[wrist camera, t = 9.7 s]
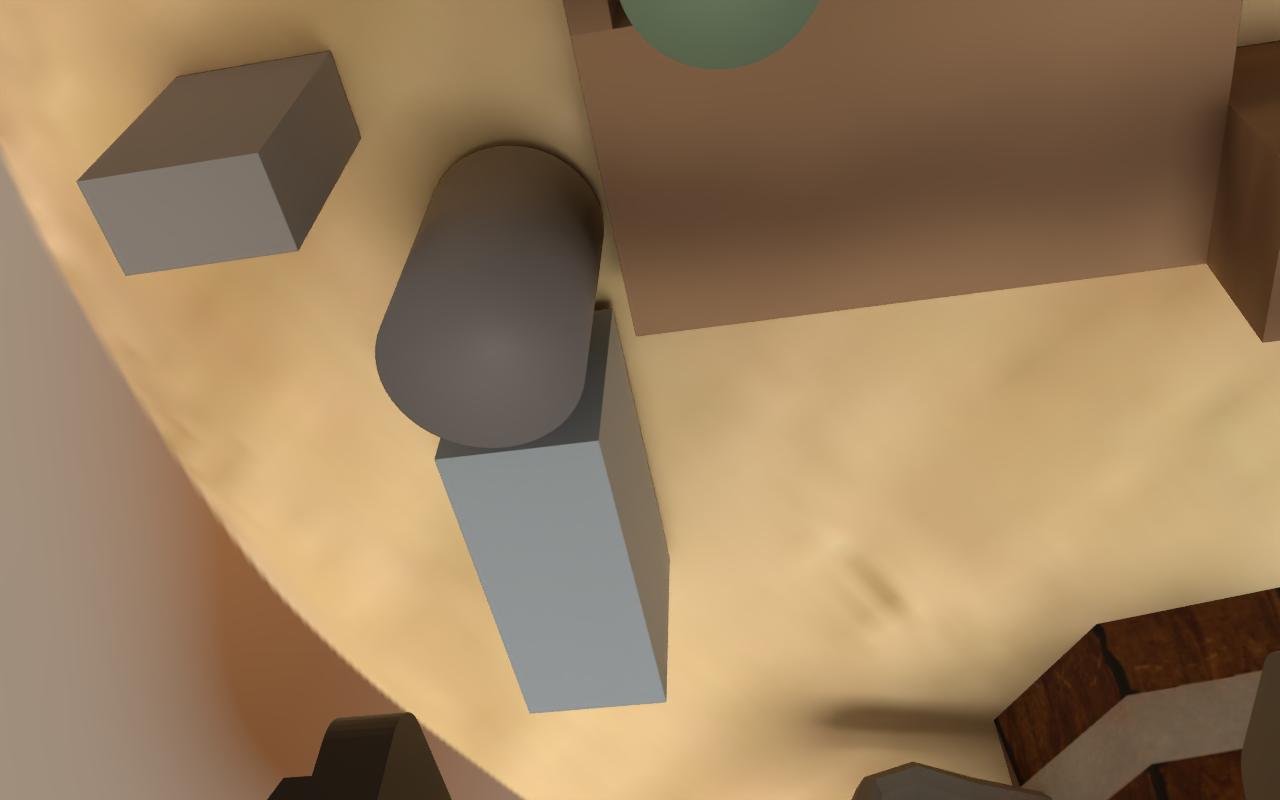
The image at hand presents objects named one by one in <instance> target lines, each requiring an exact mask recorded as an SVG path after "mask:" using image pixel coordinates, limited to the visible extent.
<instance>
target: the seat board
mask: <svg viewBox="0 0 1280 800" xmlns="http://www.w3.org/2000/svg"><path fill="white" fill-rule="evenodd" d="M563 4H564V8H565V13H566V17H567V22H568V26H569V31H570V36H571V40H572V45H573V49H574V54H575V59H576V63H577V68H578V72H579V77H580V82H581V86H582V91H583V95H584V100H585V105H586V109H587V114H588V118H589V123H590V128H591V132H592V137H593V141H594V146H595V150H596V155H597V160H598V164H599V169H600V173H601V178H602V183H603V187H604V192H605V196H606V201H607V206H608V210H609V215H610V219H611V224H612V229H613V233H614V238H615V242H616V247H617V251H618V256H619V261H620V265H621V270H622V274H623V279H624V284H625V288H626V293H627V297H628V302H629V307H630V311H631V316H632V320H633V325H634V330H635V334H636V336H644V335H651V334H659V333H667V332H675V331H683V330H691V329H698V328H706V327H714V326H722V325H730V324H737V323H745V322H753V321H761V320H769V319H776V318H784V317H792V316H800V315H808V314H815V313H823V312H831V311H839V310H847V309H854V308H862V307H870V306H878V305H886V304H893V303H901V302H909V301H917V300H925V299H932V298H940V297H948V296H956V295H964V294H971V293H979V292H987V291H995V290H1003V289H1010V288H1018V287H1026V286H1034V285H1042V284H1049V283H1057V282H1065V281H1073V280H1081V279H1088V278H1096V277H1104V276H1112V275H1120V274H1128V273H1135V272H1143V271H1151V270H1159V269H1167V268H1174V267H1182V266H1190V265H1198V264H1207V265H1208V266H1209V268H1210V269H1211V271H1212V272H1213V274H1214V275H1215V276H1216V278H1217V279H1218V281H1219V282H1220V283H1221V285H1222V286H1223V288H1224V289H1225V290H1226V292H1227V293H1228V295H1229V296H1230V298H1231V299H1232V300H1233V302H1234V303H1235V305H1236V306H1237V307H1238V309H1239V310H1240V312H1241V313H1242V314H1243V316H1244V317H1245V319H1246V320H1247V321H1248V323H1249V324H1250V326H1251V327H1252V329H1253V330H1254V331H1255V333H1256V334H1257V336H1258V337H1259V338H1260V340H1261V341H1262V343H1263V342H1272V341H1280V41H1277V42H1271V43H1264V44H1258V45H1251V46H1244V47H1238V48H1236V47H1237V40H1238V32H1239V25H1240V18H1241V11H1242V4H1243V0H819V3H818V5H817V7H816V9H815V11H814V12H813V14H812V16H811V17H810V19H809V20H808V22H807V23H806V25H805V26H804V27H803V28H802V30H801V31H800V32H799V33H798V34H797V35H796V36H795V37H794V38H793V39H792V40H791V41H790V42H789V43H788V44H786V45H785V46H784V47H783V48H781V49H780V50H778V51H777V52H775V53H774V54H772V55H770V56H768V57H766V58H765V59H763V60H761V61H758V62H755V63H753V64H750V65H746V66H742V67H738V68H732V69H722V70H719V69H703V68H697V67H693V66H689V65H686V64H682V63H680V62H678V61H675V60H673V59H671V58H669V57H667V56H666V55H664V54H662V53H661V52H659V51H658V50H656V49H655V48H654V47H653V46H651V45H650V44H649V43H648V42H647V41H646V40H645V39H644V38H643V37H642V36H641V35H640V34H639V33H638V32H637V30H636V29H635V28H634V26H633V25H632V24H631V22H630V20H629V19H628V17H627V15H626V13H625V12H624V9H623V7H622V4H621V2H620V0H563Z"/></svg>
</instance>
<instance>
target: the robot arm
mask: <svg viewBox="0 0 1280 800" xmlns="http://www.w3.org/2000/svg"><path fill="white" fill-rule="evenodd" d="M1241 772H1242V781H1243V787H1244V792H1245V796H1246V800H1280V651H1275V652H1271V653H1270V654H1269V655H1268V656H1267V658H1266V660H1265V663H1264V666H1263V670H1262V674H1261V677H1260V681H1259V685H1258V689H1257V693H1256V697H1255V701H1254V705H1253V709H1252V713H1251V717H1250V721H1249V725H1248V728H1247V732H1246V736H1245V740H1244V744H1243V748H1242V754H1241ZM267 800H451V798H450V795H449V792H448V790H447V788H446V785H445V783H444V781H443V778H442V776H441V774H440V771H439V769H438V767H437V765H436V762H435V760H434V758H433V755H432V753H431V750H430V748H429V746H428V743H427V741H426V739H425V736H424V734H423V732H422V729H421V727H420V725H419V723H418V721H417V719H416V717H415V716H414V715H413V714H412V713H409V712H405V713H392V714H379V715H366V716H351V717H339V718H336V719H335V720H334V721H332V723H331V724H330V725H329V727H328V729H327V731H326V733H325V736H324V739H323V742H322V745H321V748H320V751H319V755H318V758H317V761H316V764H315V767H314V771H313V774H312V776H304V777H290V778H283V779H282V781H281V782H280V783H279V785H278V786H277V787H276V789H275V790H274V792H273V793H272V794H271V795H270V797H269V798H268V799H267Z"/></svg>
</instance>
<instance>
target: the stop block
mask: <svg viewBox="0 0 1280 800" xmlns="http://www.w3.org/2000/svg"><path fill="white" fill-rule="evenodd" d="M360 139H361V137H360V135H359V132H358V129H357V126H356V123H355V120H354V117H353V114H352V112H351V109H350V106H349V103H348V100H347V97H346V94H345V92H344V89H343V86H342V83H341V80H340V77H339V74H338V72H337V69H336V66H335V63H334V60H333V57H332V54H331V51H327V52H321V53H315V54H309V55H304V56H298V57H292V58H286V59H280V60H274V61H268V62H262V63H256V64H250V65H245V66H239V67H233V68H227V69H221V70H215V71H209V72H203V73H197V74H191V75H186V76H180V77H176V78H175V79H174V80H173V82H172V83H171V84H170V85H169V86H168V87H167V88H166V89H165V90H164V91H163V92H162V93H161V94H160V95H159V96H158V97H157V98H156V99H155V100H154V101H153V102H152V103H151V104H150V105H149V106H148V108H147V109H146V110H145V111H144V112H143V113H142V114H141V115H140V116H139V117H138V118H137V119H136V120H135V121H134V122H133V123H132V124H131V125H130V126H129V127H128V128H127V129H126V130H125V131H124V132H123V134H122V135H121V136H120V137H119V138H118V139H117V140H116V141H115V142H114V143H113V144H112V145H111V146H110V147H109V148H108V149H107V150H106V151H105V152H104V153H103V154H102V155H101V156H100V157H99V158H98V160H97V161H96V162H95V163H94V164H93V165H92V166H91V167H90V168H89V169H88V170H87V171H86V172H85V173H84V174H83V175H82V176H81V177H80V178H79V179H78V180H77V181H76V182H77V184H78V186H79V188H80V190H81V192H82V194H83V195H84V197H85V199H86V201H87V203H88V205H89V207H90V209H91V211H92V213H93V215H94V216H95V218H96V220H97V222H98V224H99V226H100V228H101V230H102V232H103V234H104V236H105V238H106V239H107V241H108V243H109V245H110V247H111V249H112V251H113V253H114V255H115V257H116V259H117V260H118V262H119V264H120V266H121V268H122V270H123V272H124V274H125V276H129V275H136V274H143V273H149V272H156V271H163V270H170V269H177V268H184V267H191V266H198V265H205V264H212V263H219V262H226V261H232V260H239V259H246V258H253V257H260V256H267V255H274V254H281V253H288V252H295V251H298V250H299V249H300V247H301V245H302V243H303V241H304V240H305V238H306V236H307V234H308V232H309V231H310V229H311V227H312V225H313V223H314V222H315V220H316V218H317V216H318V214H319V213H320V211H321V209H322V207H323V205H324V204H325V202H326V200H327V198H328V196H329V195H330V193H331V191H332V189H333V187H334V186H335V184H336V182H337V180H338V178H339V177H340V175H341V173H342V171H343V169H344V168H345V166H346V164H347V162H348V160H349V159H350V157H351V155H352V153H353V151H354V150H355V148H356V146H357V144H358V142H359V141H360Z"/></svg>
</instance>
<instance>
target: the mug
mask: <svg viewBox="0 0 1280 800" xmlns="http://www.w3.org/2000/svg"><path fill="white" fill-rule="evenodd" d="M1275 651H1280V587H1279V588H1275V589H1270V590H1265V591H1260V592H1255V593H1250V594H1245V595H1240V596H1235V597H1230V598H1225V599H1220V600H1215V601H1210V602H1205V603H1200V604H1195V605H1190V606H1185V607H1180V608H1175V609H1170V610H1166V611H1161V612H1156V613H1151V614H1146V615H1141V616H1136V617H1131V618H1126V619H1121V620H1116V621H1111V622H1106V623H1101V624H1096V625H1095V626H1094V627H1093V628H1092V629H1091V630H1090V631H1089V632H1088V633H1087V634H1086V635H1085V636H1084V637H1083V638H1081V639H1080V640H1079V641H1078V642H1077V643H1076V644H1075V645H1074V646H1073V647H1072V648H1071V649H1070V650H1069V651H1068V652H1066V653H1065V654H1064V655H1063V656H1062V657H1061V658H1060V659H1059V660H1058V661H1057V662H1056V663H1055V664H1054V665H1053V666H1052V667H1050V668H1049V669H1048V670H1047V671H1046V672H1045V673H1044V674H1043V675H1042V676H1041V677H1040V678H1039V679H1038V680H1037V681H1035V682H1034V683H1033V684H1032V685H1031V686H1030V687H1029V688H1028V689H1027V690H1026V691H1025V692H1024V693H1023V694H1022V695H1021V696H1019V697H1018V698H1017V699H1016V700H1015V701H1014V702H1013V703H1012V704H1011V705H1010V706H1009V707H1008V708H1007V709H1006V710H1004V711H1003V712H1002V713H1001V714H1000V715H999V716H998V717H997V718H996V719H995V720H994V722H995V726H996V729H997V733H998V736H999V740H1000V743H1001V746H1002V750H1003V753H1004V757H1005V760H1006V764H1007V767H1008V770H1009V774H1010V777H1011V781H1012V784H1013V786H1011V785H1006V784H1001V783H996V782H991V781H986V780H981V779H976V778H972V777H968V776H964V775H960V774H957V773H953V772H949V771H945V770H942V769H938V768H934V767H931V766H927V765H923V764H919V763H916V762H911V763H908V764H904V765H901V766H898V767H895V768H892V769H889V770H886V771H883V772H879V773H876V774H873V775H870V776H867V777H864V778H863V780H862V781H861V783H860V784H859V786H858V787H857V789H856V791H855V793H854V796H853V798H852V800H1246V796H1245V792H1244V787H1243V781H1242V772H1241V754H1242V748H1243V744H1244V740H1245V736H1246V732H1247V728H1248V725H1249V721H1250V717H1251V713H1252V709H1253V705H1254V701H1255V697H1256V693H1257V689H1258V685H1259V681H1260V677H1261V674H1262V670H1263V666H1264V663H1265V660H1266V658H1267V656H1268V655H1269V654H1270V653H1271V652H1275Z"/></svg>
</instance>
